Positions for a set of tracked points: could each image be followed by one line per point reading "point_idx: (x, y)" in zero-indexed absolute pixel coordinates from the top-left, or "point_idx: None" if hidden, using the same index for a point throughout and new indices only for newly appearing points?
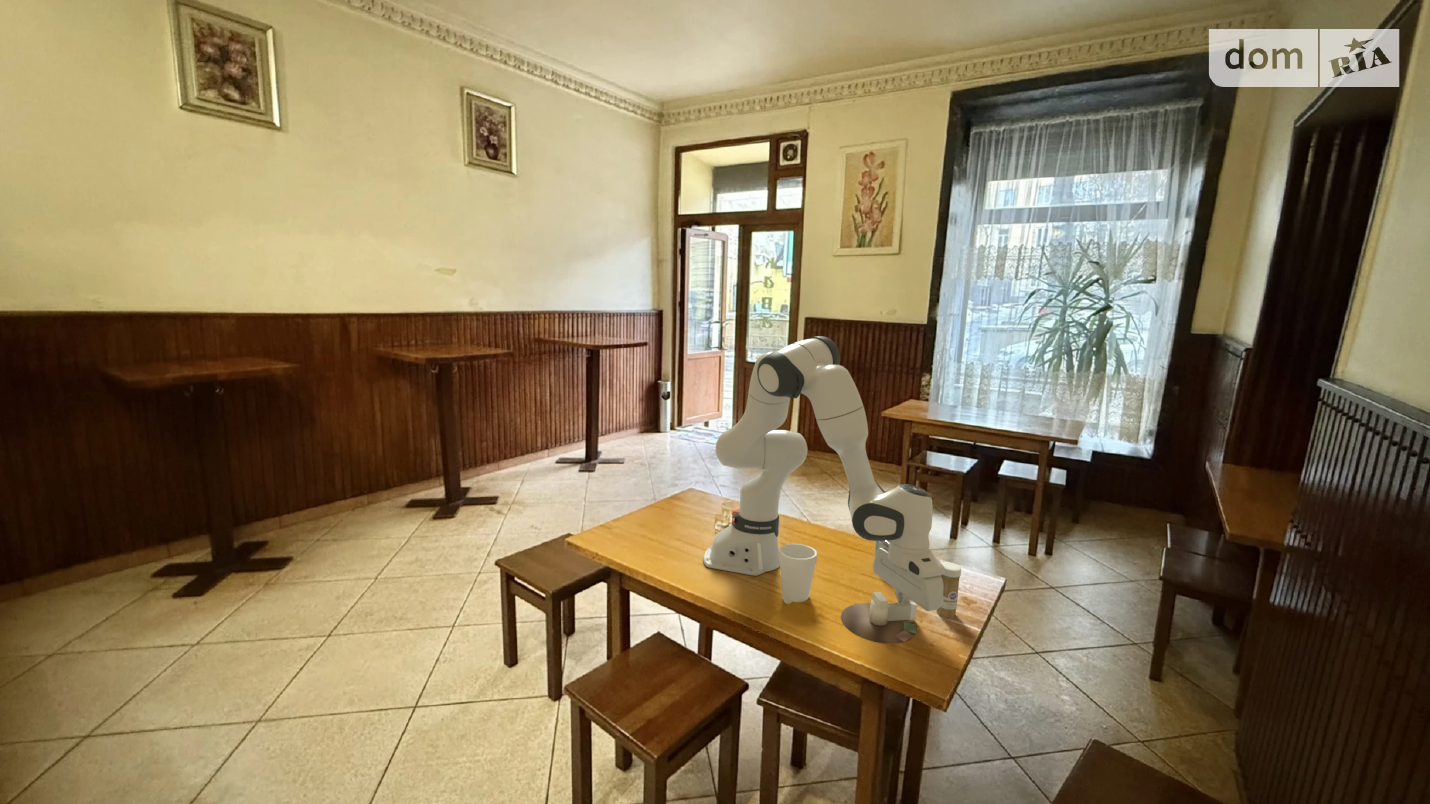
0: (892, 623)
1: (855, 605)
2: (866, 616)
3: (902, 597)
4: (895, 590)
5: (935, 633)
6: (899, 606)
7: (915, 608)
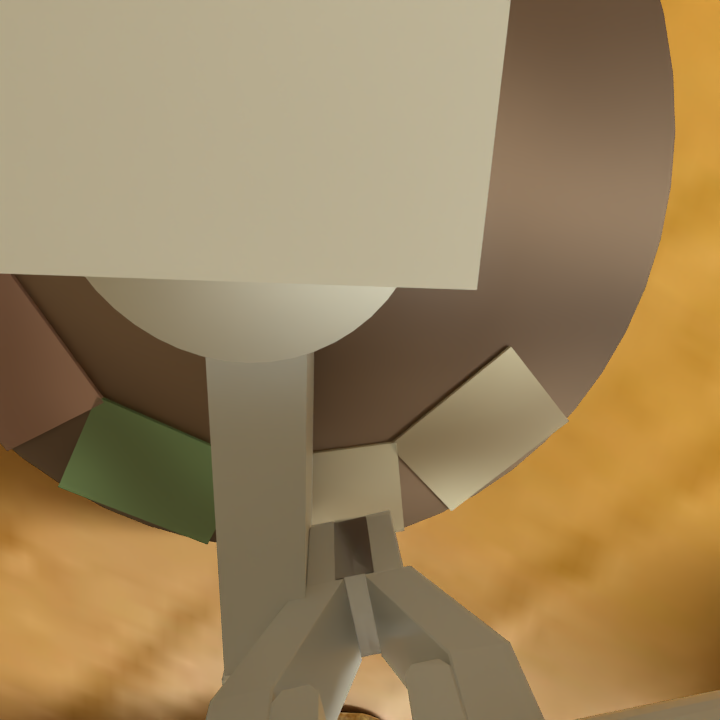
0: None
1: (651, 111)
2: None
3: (407, 662)
4: (513, 678)
5: (160, 623)
6: (217, 520)
7: None
